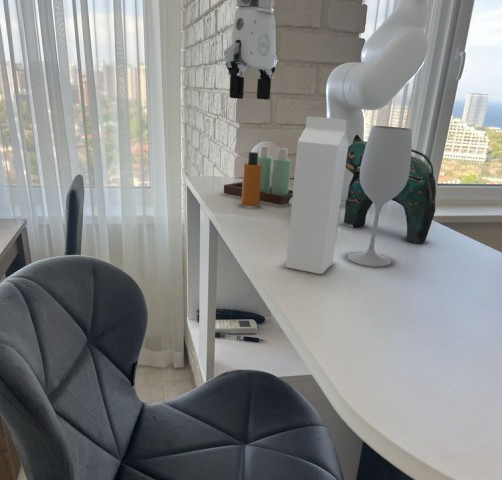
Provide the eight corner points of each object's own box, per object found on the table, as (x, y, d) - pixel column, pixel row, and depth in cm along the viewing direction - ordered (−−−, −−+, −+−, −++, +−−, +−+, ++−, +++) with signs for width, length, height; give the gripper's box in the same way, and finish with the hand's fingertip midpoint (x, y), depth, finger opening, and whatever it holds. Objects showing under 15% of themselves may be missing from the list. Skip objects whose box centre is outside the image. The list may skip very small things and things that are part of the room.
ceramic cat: (333, 223, 108) (347, 123, 99) (350, 220, 113) (365, 123, 104) (417, 246, 96) (441, 133, 87) (433, 241, 100) (457, 133, 92)
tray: (299, 202, 126) (300, 191, 125) (280, 207, 120) (281, 196, 119) (243, 191, 135) (244, 181, 134) (223, 195, 129) (223, 184, 128)
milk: (297, 258, 85) (312, 115, 75) (332, 264, 83) (352, 119, 73) (285, 267, 80) (299, 116, 70) (321, 275, 78) (341, 119, 68)
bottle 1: (271, 195, 129) (275, 146, 124) (267, 198, 125) (270, 147, 120) (255, 194, 130) (258, 144, 124) (250, 196, 126) (254, 146, 121)
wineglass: (338, 254, 88) (357, 124, 79) (375, 252, 91) (397, 126, 81) (362, 268, 82) (384, 129, 73) (401, 265, 84) (428, 131, 75)
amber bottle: (261, 205, 120) (264, 152, 115) (256, 209, 117) (259, 154, 111) (244, 203, 121) (247, 150, 116) (239, 206, 118) (241, 152, 112)
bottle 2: (289, 199, 126) (293, 148, 121) (285, 202, 122) (290, 150, 117) (272, 197, 127) (276, 147, 122) (268, 200, 123) (272, 148, 118)
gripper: (244, -4, 93) (239, 99, 100) (293, 10, 105) (286, 100, 113) (212, -2, 96) (210, 96, 104) (264, 11, 109) (259, 98, 117)
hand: (250, 98), depth 108 cm, fingers open, 9 cm apart
